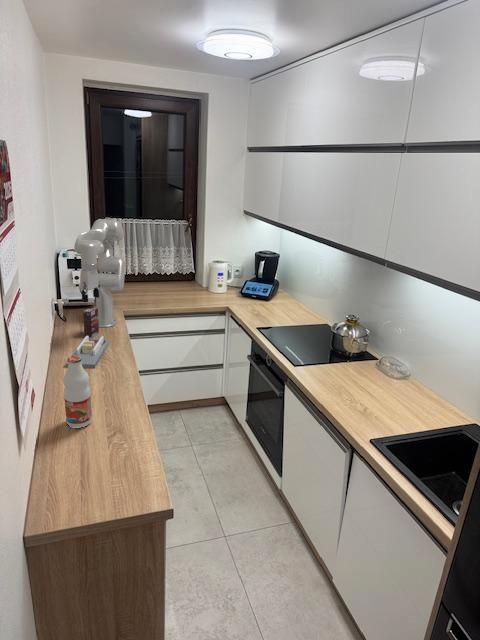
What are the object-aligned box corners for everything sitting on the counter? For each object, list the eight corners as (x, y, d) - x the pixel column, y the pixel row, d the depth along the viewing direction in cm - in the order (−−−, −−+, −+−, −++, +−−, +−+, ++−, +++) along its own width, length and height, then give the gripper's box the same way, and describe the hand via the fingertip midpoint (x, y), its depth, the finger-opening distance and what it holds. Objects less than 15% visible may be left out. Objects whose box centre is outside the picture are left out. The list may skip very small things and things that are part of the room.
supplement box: (92, 339, 246) (90, 312, 240) (84, 337, 246) (82, 311, 241) (99, 333, 254) (98, 307, 248) (92, 332, 254) (90, 306, 249)
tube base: (84, 341, 241) (83, 333, 240) (109, 342, 242) (109, 334, 241) (65, 367, 212) (64, 357, 211) (95, 368, 213) (94, 358, 212)
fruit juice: (97, 419, 173) (93, 355, 164) (80, 432, 165) (75, 365, 155) (78, 413, 176) (73, 350, 167) (61, 425, 168) (54, 359, 158)
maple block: (85, 348, 229) (85, 340, 227) (94, 348, 229) (94, 340, 228) (82, 353, 223) (82, 345, 222) (91, 353, 224) (91, 345, 222)
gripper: (92, 263, 232) (94, 294, 237) (72, 269, 216) (74, 302, 221) (105, 265, 230) (106, 296, 235) (85, 270, 214) (87, 304, 220)
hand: (90, 299), depth 228 cm, fingers open, 9 cm apart
